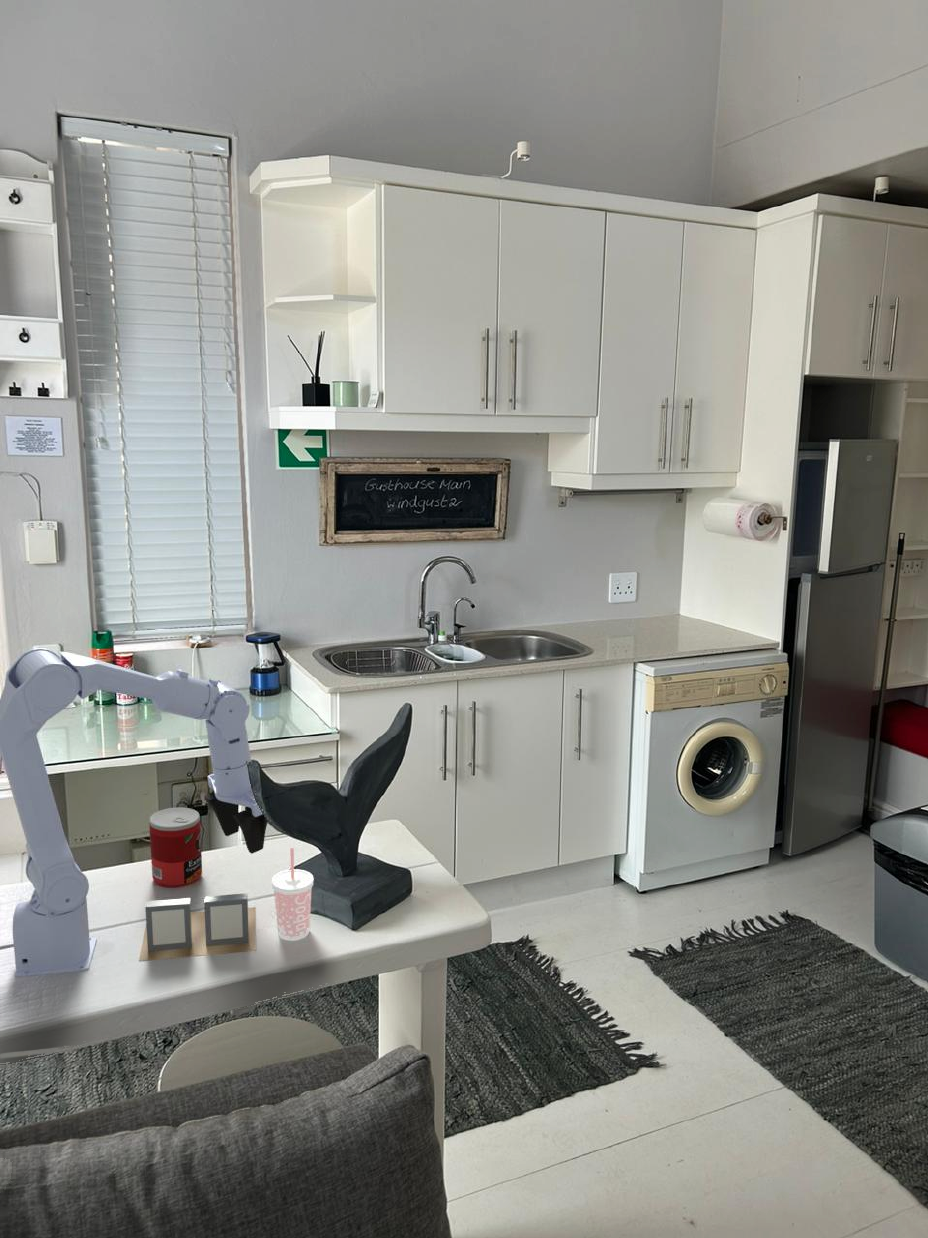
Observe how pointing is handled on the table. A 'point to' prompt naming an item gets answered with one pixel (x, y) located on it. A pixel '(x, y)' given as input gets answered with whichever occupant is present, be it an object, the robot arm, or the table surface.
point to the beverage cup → (293, 901)
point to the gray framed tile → (226, 919)
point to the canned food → (175, 847)
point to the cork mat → (202, 941)
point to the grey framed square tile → (168, 924)
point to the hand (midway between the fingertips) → (243, 841)
